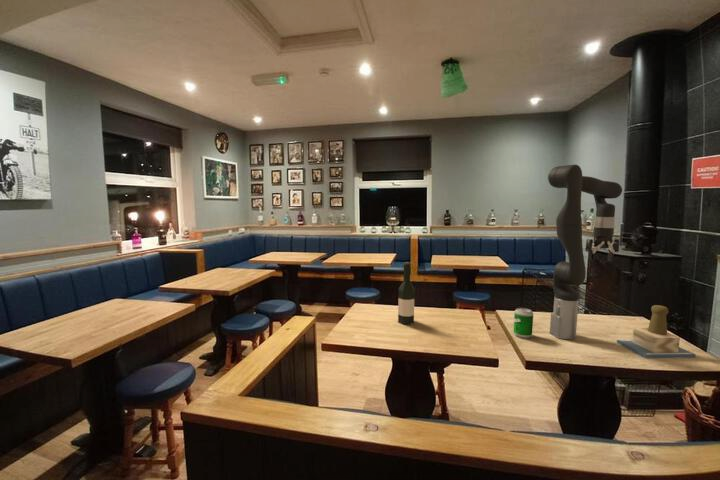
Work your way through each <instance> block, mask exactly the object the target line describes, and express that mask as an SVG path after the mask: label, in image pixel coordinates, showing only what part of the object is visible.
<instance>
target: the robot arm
mask: <svg viewBox="0 0 720 480" xmlns="http://www.w3.org/2000/svg"><path fill="white" fill-rule="evenodd" d="M547 180H548V184H549V185H550V186H551V187H553V188H555V189H566V190H567V191H566V199H565V203H564V204H563V206H562V208H561V209H560V211H559V212H558V215H557V217H556V219H555V220H556V221H555V222H556V223H555V224H556V235H557V239H558V240H559V241H560V244H561V245H562V247H563V248H564V249H565V251H566V254H567V256H568V261H560V262H557V263H556V265H555V267H554V269H553V277H552V278H553V283H552V284H553V286H552V288H553V293H554V297H553V298H554V299H553V300H554V301H553V311H552V312H551V313H550V323H549V334H551V335H552V336H554V337H556V338H557V339H562V340H563V339H564V340H574V339H576V337H577V324H578V314H579V302H580V294H579V292H577V291H576V290H575V289H574V288H573V287H572V286H577V287H578V286H581V285H582V284H583V283H584V282H585V280H586V274H587V269H586V264H585V263H586V262H585V258H584V257H585V256H584V251H585V252H587V253H588V254H589V255H588V259H589V261H590V262H595V259H596V252H597V251H598V250H600V249H606V251H607V252H608V253H607V262H613V261H614V258H615V257H614V255H615V253H618V252H619V251H620V239H618V238H613V237H614V231H615V215H616V206H615V204H612V203H608V202H607V201H606V199H617V198H619V197H620V196H621V195H622V193H623V187H622V186H621V184H619V183H618V182H616V181H608V180H607V181H606V180H602V179H599V178H597V177H593V176H588V175H587V176H586V175H583V171H582V168H581V167H580V166H579V164H578V165H577V164H566V165H558V166H555V167H553V168H551V169H550V171H548V175H547ZM582 192H583V193H585V194H587V195H588V194H589V195H592V196H593V198H594V201H595V208H596V209H595V219H594V222H593V223H594V226H593V238H592V239H591V238H587V239H586V242H585V248H583V221H582ZM571 285H572V286H571Z"/></svg>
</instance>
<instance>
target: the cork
mask: <svg viewBox="0 0 720 480" xmlns="http://www.w3.org/2000/svg"><path fill="white" fill-rule="evenodd" d="M650 310H651V318H650V321H649V324H648V327H647V328H648V331H649V332H651V333H654V334H659V335H667V332H668V325H667V324H668V323H667V315H668V314H669V308H668V307H666V306H664V305H660V304H659V305H658V304H654V305H652V306H651V309H650Z"/></svg>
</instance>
